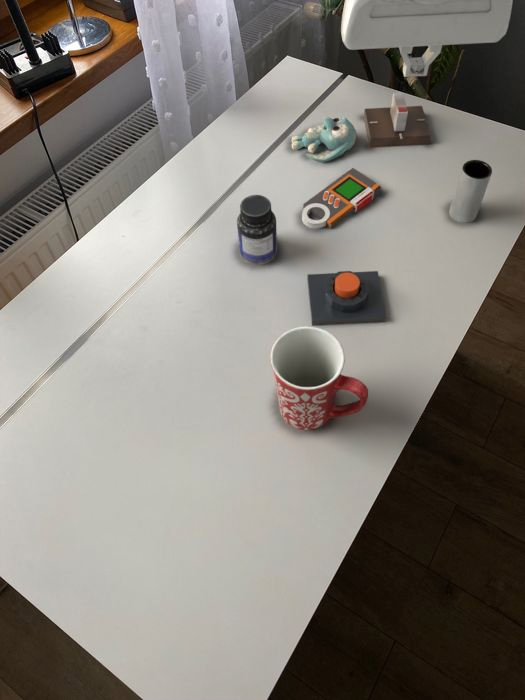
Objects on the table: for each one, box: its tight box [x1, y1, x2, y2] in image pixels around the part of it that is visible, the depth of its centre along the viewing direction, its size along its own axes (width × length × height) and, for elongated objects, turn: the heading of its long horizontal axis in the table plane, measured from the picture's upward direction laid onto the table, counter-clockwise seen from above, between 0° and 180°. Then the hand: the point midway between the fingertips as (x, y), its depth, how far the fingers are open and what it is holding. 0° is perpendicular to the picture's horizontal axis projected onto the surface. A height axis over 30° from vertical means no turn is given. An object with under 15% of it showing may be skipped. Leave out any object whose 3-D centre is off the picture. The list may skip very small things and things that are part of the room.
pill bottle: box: [236, 194, 278, 266], centre depth 95 cm, size 6×6×11 cm
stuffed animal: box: [291, 116, 357, 163], centre depth 111 cm, size 11×7×12 cm
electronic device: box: [301, 167, 382, 230], centre depth 104 cm, size 7×3×15 cm
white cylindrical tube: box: [448, 159, 493, 224], centre depth 98 cm, size 4×4×10 cm
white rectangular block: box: [390, 92, 408, 132], centre depth 111 cm, size 6×2×4 cm, turn 1°
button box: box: [306, 270, 387, 327], centre depth 91 cm, size 11×9×4 cm
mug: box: [269, 326, 369, 431], centre depth 77 cm, size 13×9×14 cm
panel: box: [363, 105, 432, 149], centre depth 114 cm, size 11×10×3 cm
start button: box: [335, 273, 360, 299], centre depth 89 cm, size 4×4×2 cm
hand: (414, 74), depth 80 cm, fingers closed
